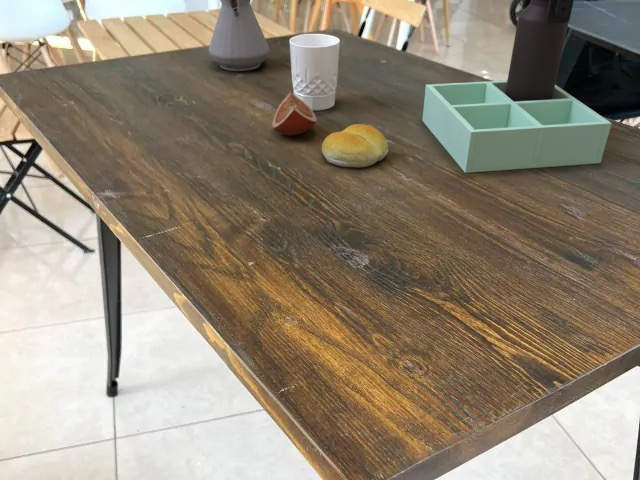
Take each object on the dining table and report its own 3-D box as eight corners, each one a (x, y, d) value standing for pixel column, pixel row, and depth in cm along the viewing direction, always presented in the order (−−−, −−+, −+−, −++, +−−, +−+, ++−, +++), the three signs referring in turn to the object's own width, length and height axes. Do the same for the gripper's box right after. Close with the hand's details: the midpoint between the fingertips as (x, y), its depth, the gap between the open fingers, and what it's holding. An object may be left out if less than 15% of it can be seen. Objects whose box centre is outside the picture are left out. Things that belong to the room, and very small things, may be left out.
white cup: (322, 115, 103) (323, 49, 97) (281, 106, 106) (279, 42, 100) (347, 101, 108) (349, 38, 102) (307, 93, 111) (306, 31, 105)
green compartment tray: (538, 114, 104) (546, 78, 100) (600, 163, 88) (611, 123, 85) (422, 121, 101) (425, 84, 98) (465, 173, 86) (471, 132, 82)
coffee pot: (211, 57, 128) (203, -28, 119) (269, 56, 129) (266, -29, 120) (204, 92, 111) (195, -4, 102) (271, 90, 112) (267, -5, 103)
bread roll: (310, 157, 90) (310, 129, 87) (354, 140, 95) (355, 113, 92) (354, 176, 85) (355, 147, 82) (398, 156, 90) (400, 128, 87)
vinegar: (501, 112, 102) (526, -31, 90) (546, 116, 100) (577, -28, 88) (499, 127, 97) (525, -22, 84) (546, 132, 95) (579, -19, 83)
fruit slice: (271, 123, 100) (270, 90, 97) (315, 122, 100) (315, 89, 97) (273, 144, 93) (271, 110, 90) (319, 143, 94) (319, 108, 91)
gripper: (644, -141, 72) (601, 30, 83) (570, -146, 86) (542, 1, 97) (581, -140, 71) (546, 32, 82) (517, -146, 85) (494, 3, 96)
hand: (544, 14), depth 89 cm, fingers closed on vinegar, 6 cm apart
